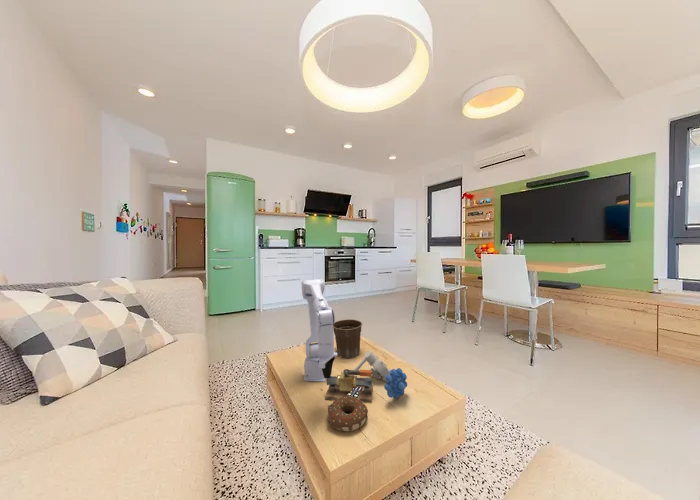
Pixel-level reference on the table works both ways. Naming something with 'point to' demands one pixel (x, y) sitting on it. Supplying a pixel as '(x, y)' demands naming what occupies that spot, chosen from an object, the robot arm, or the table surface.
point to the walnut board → (339, 393)
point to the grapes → (395, 383)
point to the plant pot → (347, 337)
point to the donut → (347, 420)
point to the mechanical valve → (375, 365)
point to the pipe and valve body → (348, 383)
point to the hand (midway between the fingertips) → (327, 377)
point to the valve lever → (358, 372)
